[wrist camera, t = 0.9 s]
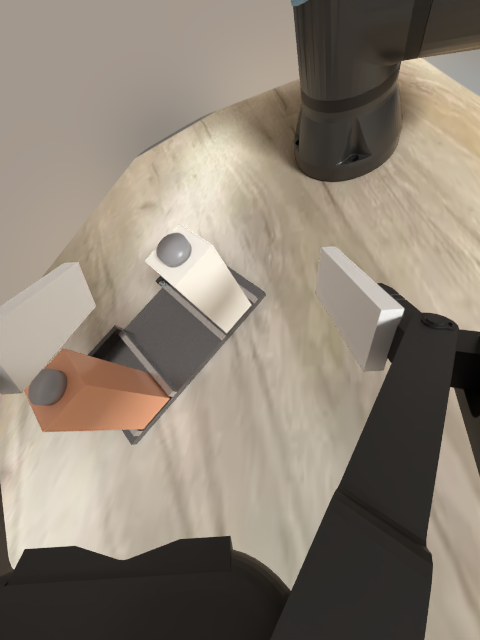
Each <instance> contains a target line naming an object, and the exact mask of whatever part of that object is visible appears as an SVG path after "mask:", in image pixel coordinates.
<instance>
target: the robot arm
mask: <svg viewBox="0 0 480 640" xmlns="http://www.w3.org/2000/svg"><path fill="white" fill-rule="evenodd" d="M291 3H292V6H293V10H294V20H295V32H296V43H297V54H298V65H299V75H300V87H301V99H302V102H301V108H300V113H299V118H298V123H297V128H296V134H295V139H294V150H295V158H296V162H297V165H298V167H299V168H300V169H301V170H302V171H303V172H304V173H305V174H307V175H308V176H310V177H312V178H315V179H318V180H323V181H343V180H348V179H353V178H356V177H359V176H362V175H364V174H367V173H369V172H371V171H373V170H374V169H376V168H378V167H379V166H380V165H382V164H383V163H384V162H385V161H386V160H387V159H388V158H389V157H390V156H391V155H392V154H393V152H394V151H395V149H396V147H397V145H398V141H399V137H400V133H401V129H402V113H401V103H400V94H399V86H398V74H399V70H400V64H401V61H404V60H410V59H415V58H422V57H429V56H435V55H442V54H449V53H456V52H463V51H470V50H476V49H480V0H291ZM315 293H316V295H317V296H318V298H319V300H320V301H321V303H322V304H323V306H324V308H325V309H326V311H327V313H328V314H329V316H330V318H331V319H332V321H333V322H334V324H335V326H336V327H337V329H338V331H339V332H340V334H341V336H342V337H343V339H344V340H345V342H346V344H347V345H348V347H349V349H350V350H351V352H352V354H353V355H354V357H355V358H356V360H357V362H358V363H359V365H360V367H361V368H362V370H363V372H365V371H381V370H384V367H385V364H386V361H387V358H388V359H389V360H390V362H391V363H392V364H391V366H390V368H389V371H388V373H387V375H386V378H385V380H384V382H383V385H382V387H381V389H380V392H379V394H378V396H377V399H376V401H375V403H374V406H373V408H372V410H371V413H370V415H369V417H368V419H367V422H366V424H365V426H364V429H363V431H362V433H361V436H360V438H359V440H358V443H357V445H356V447H355V450H354V452H353V454H352V457H351V459H350V461H349V464H348V466H347V468H346V471H345V473H344V475H343V478H342V480H341V482H340V484H339V486H338V488H337V490H336V491H335V493H334V495H333V497H332V499H331V501H330V504H329V506H328V508H327V510H326V513H325V515H324V517H323V519H322V522H321V524H320V526H319V529H318V531H317V533H316V536H315V538H314V540H313V542H312V545H311V547H310V549H309V552H308V554H307V556H306V558H305V561H304V563H303V565H302V568H301V570H300V572H299V575H298V577H297V579H296V581H295V584H294V586H293V588H292V591H290V589H289V588H288V587H287V586H286V585H285V584H284V582H283V581H282V580H281V579H280V578H279V577H278V576H277V575H276V574H275V573H274V572H273V571H272V570H271V569H269V568H268V567H267V566H266V565H264V564H263V563H261V562H260V561H258V560H257V559H255V558H253V557H251V556H249V555H247V554H245V553H242V552H239V551H236V550H233V547H232V542H231V537H230V536H223V537H207V538H192V539H179V540H177V541H174V542H172V543H169V544H166V545H164V546H161V547H159V548H156V549H153V550H151V551H148V552H146V553H143V554H140V555H138V556H135V557H133V558H130V559H127V560H117V559H114V558H111V557H108V556H105V555H102V554H99V553H96V552H92V551H89V550H86V549H83V548H80V547H77V546H68V547H52V548H37V549H25V550H24V552H23V554H22V556H21V558H20V560H19V562H18V564H17V566H16V568H15V569H14V570H13V569H12V567H11V564H10V562H9V557H8V550H7V541H6V532H5V522H4V513H3V504H2V494H1V485H0V640H424V638H425V630H426V623H427V615H428V607H429V600H430V592H431V584H432V571H433V562H432V554H431V553H430V552H429V550H428V549H427V547H426V537H427V529H428V523H429V517H430V510H431V504H432V498H433V491H434V485H435V479H436V472H437V466H438V460H439V453H440V447H441V441H442V434H443V428H444V422H445V416H446V409H447V403H448V397H449V390H450V387H453V388H454V389H455V393H456V396H457V399H458V403H459V406H460V410H461V413H462V417H463V420H464V424H465V427H466V430H467V434H468V437H469V441H470V444H471V448H472V451H473V455H474V458H475V461H476V465H477V468H478V472H479V475H480V332H477V331H468V330H459V328H458V325H457V324H456V323H455V322H454V321H452V320H450V319H448V318H446V317H444V316H441V315H438V314H433V313H421V312H420V311H419V310H418V309H417V308H415V307H414V306H413V305H412V304H411V303H409V302H408V301H407V300H405V298H403V297H402V296H401V295H399V293H398V292H396V291H395V290H394V289H393V288H391V287H389V286H387V285H384V284H382V283H375V282H374V281H373V280H372V279H371V278H370V277H369V276H368V275H367V274H365V273H364V272H363V271H362V270H361V269H360V268H359V267H358V266H356V265H355V264H354V263H353V262H352V261H351V260H350V259H349V258H348V257H346V256H345V255H344V254H343V253H342V252H341V251H340V250H339V249H337V248H336V247H335V246H330V247H321V249H320V258H319V266H318V274H317V282H316V291H315ZM95 307H96V305H95V302H94V300H93V297H92V295H91V292H90V290H89V288H88V285H87V283H86V280H85V278H84V275H83V273H82V270H81V268H80V266H79V263H78V262H70V263H63V264H61V265H60V266H58V267H57V268H55V269H54V270H53V271H51V272H50V273H48V274H47V275H45V276H44V277H42V278H41V279H39V280H38V281H36V282H35V283H33V284H32V285H30V286H29V287H27V288H26V289H24V290H23V291H22V292H20V293H19V294H17V295H16V296H14V297H13V298H11V299H10V300H8V301H7V302H5V303H4V304H2V305H1V306H0V393H1V394H14V393H22V392H23V391H24V390H25V389H26V388H27V386H28V385H29V384H30V383H31V382H32V381H33V379H34V378H35V377H36V376H37V375H38V374H39V372H40V371H41V370H42V369H43V368H44V367H45V365H46V364H47V363H48V362H49V361H50V360H51V358H52V357H53V356H54V355H55V354H56V353H57V351H58V350H59V349H60V348H61V347H62V346H63V344H64V343H65V342H66V341H67V340H68V338H69V337H70V336H71V335H72V334H73V333H74V331H75V330H76V329H77V328H78V327H79V326H80V324H81V323H82V322H83V321H84V320H85V319H86V317H87V316H88V315H89V314H90V313H91V312H92V310H93V309H94V308H95Z"/></svg>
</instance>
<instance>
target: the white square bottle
mask: <svg viewBox="0 0 480 640" xmlns="http://www.w3.org/2000/svg"><path fill="white" fill-rule="evenodd" d="M145 262H146V263H147V264H148V265H149V266H150V267H152V268H153V269H154V270H155V271H156V272H157V273H158V274H160V275H161V276H162V277H163V278H164V279H165V280H166V281H167V282H169V283H170V284H171V285H172V286H173V287H174V288H175V289H177V290H178V291H179V292H180V293H181V294H182V295H183V296H185V297H186V298H187V299H188V300H189V301H190V302H191V303H192V304H194V305H195V306H196V307H197V308H198V309H199V310H200V311H202V312H203V313H204V314H205V315H206V316H207V317H208V318H210V319H211V320H212V321H213V322H214V323H215V324H217V325H218V326H219V327H220V328H221V329H222V330H223V331H225V332H226V333H228V331H229V330H230V329H231V328H232V327H233V326H234V325H235V323H236V322H237V321H238V320H239V319H240V318H241V317H242V315H243V314H244V313H245V312H246V311H247V310H248V308H249V307H250V306H251V303H250V302H249V300H248V298H247V297H246V295H245V294H244V292H243V291H242V289H241V288H240V286H239V285H238V283H237V282H236V280H235V279H234V277H233V276H232V274H231V272H230V271H229V269H228V268H227V266H226V265H225V263H224V262H223V260H222V259H221V257H220V256H219V254H218V253H217V251H216V249H215V248H214V246H213V245H212V244H210V243H209V242H207V241H206V240H204V239H203V238H201V237H200V236H198V235H197V234H195V233H194V232H192V231H191V230H189V229H188V228H186V227H184V226H183V225H181V224H180V223H179V224H178V225H177V226H176V227H175V228H174V230H173V231H172V232H171V233H170V234H169V235H167V236H166V237H164V238H163V239H162V240H161V241H160V243H159V244H158V246H157V248H156V249H155V250H154V251H153V252H152V253H151V254H150V255H149V256H148V258H147V259H146V260H145Z"/></svg>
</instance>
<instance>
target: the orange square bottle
mask: <svg viewBox="0 0 480 640" xmlns="http://www.w3.org/2000/svg"><path fill="white" fill-rule="evenodd" d="M24 391H25V394H26V396H27V398H28V400H29V402H30V405H31V407H32V409H33V411H34V414H35V416H36V418H37V420H38V422H39V425H40V427H41V429H42V431H43V432H56V431H93V430H129V429H144V428H145V427H146V425H147V424H148V423H149V422H150V421H151V420H152V419H153V417H154V416H155V415H156V414H157V413H158V412H159V411H160V409H161V408H162V407H163V406H164V405H165V404H166V403H167V401H168V400H169V399H170V398H169V397H168V395H167V394H166V393H165V392H164V390H163V389H162V388H161V387H160V385H159V384H158V383H157V382H156V381H155V379H154V378H153V377H152V376H151V374H150V373H148V372H144V371H140V370H137V369H133V368H130V367H126V366H123V365H119V364H116V363H112V362H109V361H105V360H102V359H98V358H95V357H91V356H88V355H84V354H80V353H77V352H73V351H70V350H66V349H62V350H61V351H60V352H59V353H58V354H57V355H56V356H55V358H54V359H53V360H52V361H51V362H50V363H49V364H48V365H47V366H46V367H45V368H44V369H43V370H41V371H40V372H39V374H38V375H37V376H36V377H35V378H34V379H33V381H32V382H31V383H30V384H29V386H28V387H27V388H26V389H25V390H24Z"/></svg>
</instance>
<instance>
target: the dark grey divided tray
mask: <svg viewBox="0 0 480 640" xmlns="http://www.w3.org/2000/svg"><path fill="white" fill-rule="evenodd" d="M227 268H228V269H229V271H230V272H231V274H232V276H233V277H234V279H235V280H236V282H237V283H238V285H239V286H240V288H241V289H242V291H243V292H244V294H245V295H246V297H247V298H248V300H249V302H250V303H251V306H250V307H249V308H248V310H247V311H246V312H245V313H244V314H243V315H242V317H241V318H240V319H239V320H238V321H237V322H236V323H235V325H234V326H233V327H232V328H231V329H230V330H229V331H228V333H226V332H225V331H223V330H222V329H221V328H220V327H219V326H218V325H217V324H215V323H214V322H213V321H212V320H211V319H210V318H208V317H207V316H206V315H205V314H204V313H203V312H202V311H200V310H199V309H198V308H197V307H196V306H195V305H194V304H192V303H191V302H190V301H189V300H188V299H187V298H186V297H185V296H183V295H182V294H181V293H180V292H179V291H178V290H177V289H175V288H174V287H173V286H172V285H171V284H170V283H169V282H167V281H166V280H165V279H164V278H163V277H162V276H160V277H159V278H158V279H157V280H156V282H157V283H158V284H159V285H160V286H162V287H163V288H162V289H161V290H160V291H159V293H158V294H157V295H156V296H155V297H154V298H153V299H152V300H151V301H150V302H149V303H148V305H147V306H146V307H145V308H144V309H143V310H142V311H141V312H140V313H139V314H138V316H137V317H136V318H135V319H134V320H133V321H132V322H131V323H130V324H129V325H128V327H127V328H126V329H125V330H124V329H121V328H119V327H117V326H114V327H113V328H112V329H111V330H110V331H109V333H108V334H107V335H106V336H105V337H104V338H103V339H102V340H101V341H100V342H99V343H98V345H97V346H96V347H95V348H94V349H93V350H92V351H91V352H90V353H89V354H88V356H91V357H95V358H98V359H102V360H105V361H109V362H112V363H116V364H119V365H123V366H126V367H130V368H133V369H137V370H140V371H144V372H148V373H150V374H151V376H152V377H153V378H154V379H155V381H156V382H157V383H158V384H159V385H160V387H161V388H162V389H163V390H164V392H165V393H166V394H167V395H168V397H169V398H170V399H169V400H168V401H167V403H166V404H165V405H164V406H163V407H162V408H161V409H160V411H159V412H158V413H157V414H156V415H155V416H154V417H153V419H152V420H151V421H150V422H149V423H148V424H147V425H146V427H145V428H144V429H129V430H122V431H123V432H124V434H125V435H126V437H127V439H128V440H129V442H130V443H131V445H132V444H137V443H138V442H139V441H140V439H141V438H142V437H143V436H144V435H145V434H146V433H147V431H148V430H149V429H150V428H151V427H152V426H153V425H154V423H155V422H156V421H157V420H158V419H159V418H160V416H161V415H162V414H163V413H164V412H165V411H166V410H167V408H168V407H169V406H170V405H171V404H172V403H173V402H174V400H175V399H176V398H177V397H178V396H179V395H180V393H181V392H182V391H183V390H184V389H185V388H186V387H187V385H188V384H189V383H190V382H191V381H192V380H193V379H194V377H195V376H196V375H197V374H198V373H199V372H200V370H201V369H202V368H203V367H204V366H205V365H206V364H207V362H208V361H209V360H210V359H211V358H212V357H213V356H214V354H215V353H216V352H217V351H218V350H219V349H220V347H221V346H222V345H223V344H224V343H225V342H226V341H227V339H228V338H229V337H230V336H231V335H232V334H233V333H234V331H235V330H236V329H237V328H238V327H239V326H240V324H241V323H242V322H243V321H244V320H245V319H246V318H247V316H248V315H249V314H250V313H251V312H252V311H253V310H254V308H255V307H256V306H257V305H258V304H259V303H260V301H261V300H262V299H263V298H264V297H265V296H266V294H265V292H264V291H262V290H261V289H260V288H258V287H257V286H255V285H254V284H252V283H251V282H249V281H248V280H246V279H245V278H244V277H242V276H241V275H239V274H238V273H236V272H235V271H233V270H232V269H230V268H229V267H228V266H227Z"/></svg>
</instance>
